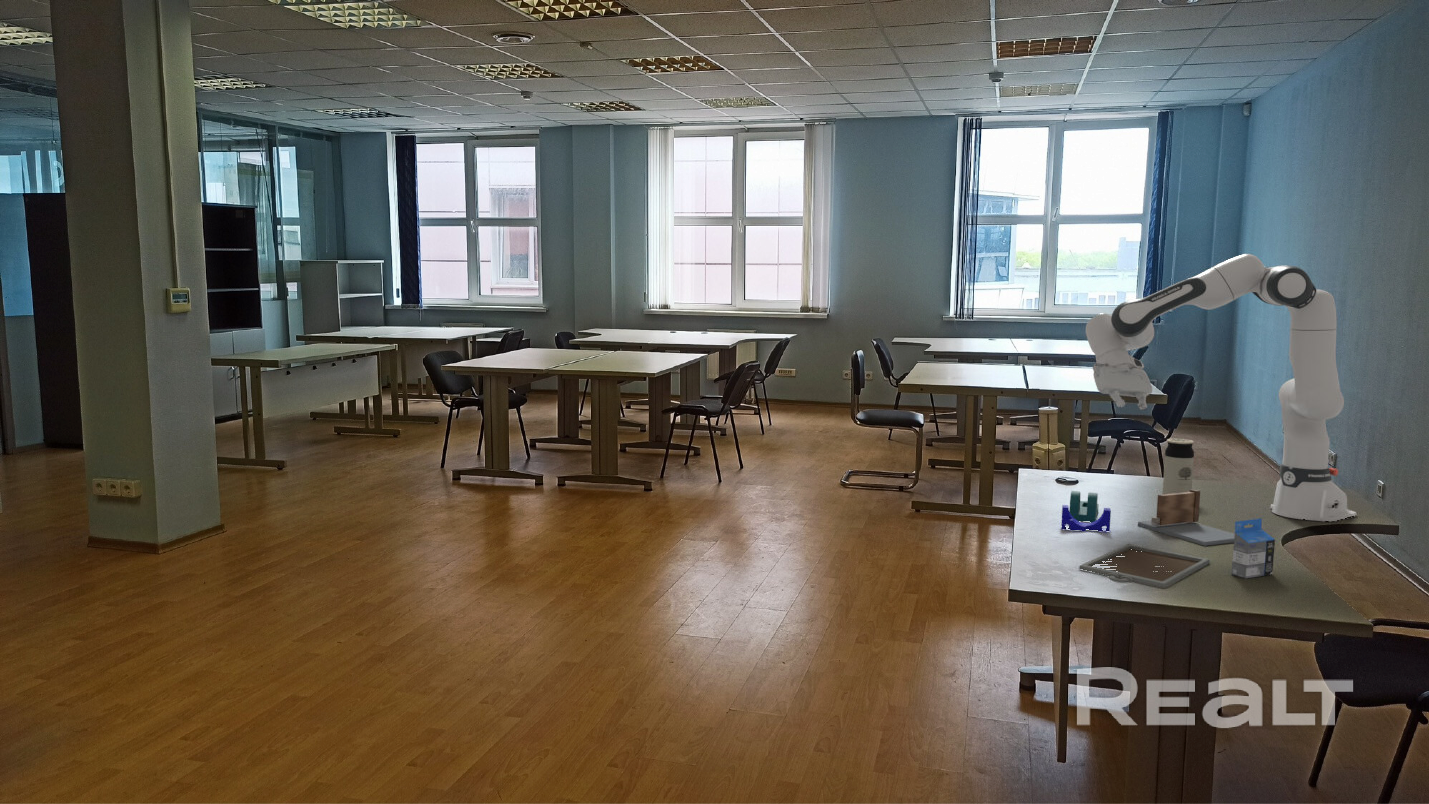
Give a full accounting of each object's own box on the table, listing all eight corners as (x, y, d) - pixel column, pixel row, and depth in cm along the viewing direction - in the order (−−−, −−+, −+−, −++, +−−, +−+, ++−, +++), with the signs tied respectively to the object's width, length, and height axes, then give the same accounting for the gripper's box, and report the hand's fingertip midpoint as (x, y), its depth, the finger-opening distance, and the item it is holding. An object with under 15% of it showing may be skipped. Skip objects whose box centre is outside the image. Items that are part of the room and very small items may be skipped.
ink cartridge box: (1245, 579, 217) (1249, 525, 216) (1230, 574, 221) (1234, 521, 219) (1273, 574, 221) (1277, 521, 219) (1257, 570, 224) (1261, 517, 223)
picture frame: (1210, 559, 229) (1160, 586, 208) (1209, 565, 230) (1159, 593, 209) (1128, 543, 243) (1073, 567, 222) (1128, 549, 243) (1073, 574, 222)
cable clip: (1061, 530, 260) (1062, 508, 259) (1061, 526, 264) (1062, 504, 264) (1109, 534, 256) (1111, 512, 256) (1108, 530, 261) (1110, 508, 260)
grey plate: (1176, 521, 270) (1177, 517, 270) (1245, 540, 250) (1245, 536, 249) (1137, 525, 265) (1138, 521, 265) (1204, 545, 245) (1204, 542, 244)
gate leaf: (1191, 519, 265) (1193, 489, 264) (1198, 521, 263) (1200, 490, 262) (1149, 524, 260) (1151, 493, 259) (1155, 526, 258) (1157, 495, 257)
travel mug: (1158, 495, 303) (1162, 438, 301) (1185, 495, 302) (1189, 438, 300) (1167, 500, 295) (1170, 442, 293) (1194, 501, 294) (1198, 442, 292)
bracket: (1095, 523, 267) (1096, 495, 266) (1069, 521, 270) (1070, 493, 269) (1098, 510, 284) (1100, 483, 283) (1074, 507, 286) (1075, 481, 286)
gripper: (1099, 356, 276) (1117, 399, 270) (1146, 362, 286) (1164, 404, 280) (1082, 367, 281) (1099, 410, 275) (1129, 373, 291) (1147, 414, 285)
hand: (1132, 407), depth 278 cm, fingers open, 8 cm apart
